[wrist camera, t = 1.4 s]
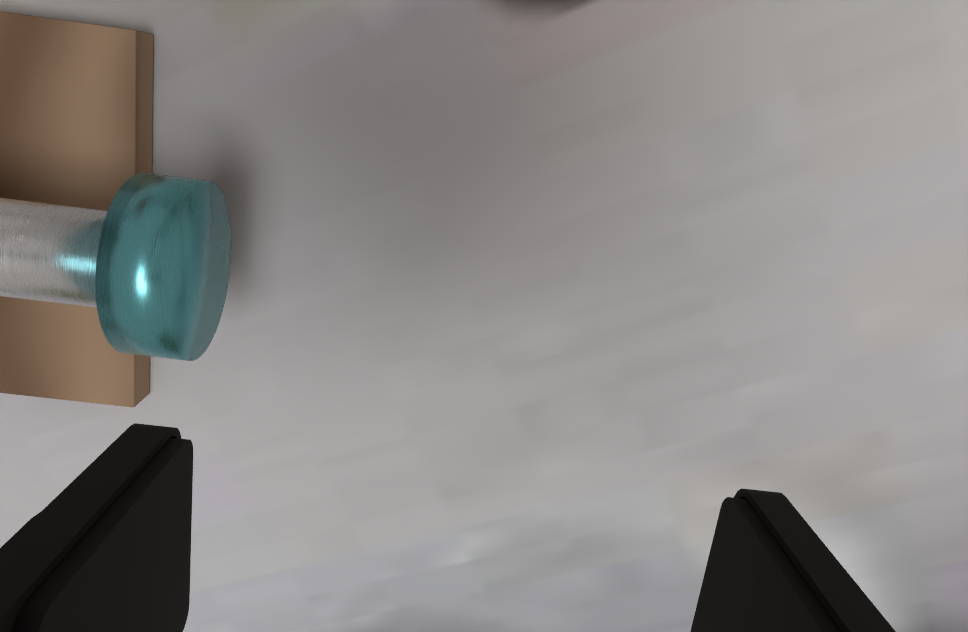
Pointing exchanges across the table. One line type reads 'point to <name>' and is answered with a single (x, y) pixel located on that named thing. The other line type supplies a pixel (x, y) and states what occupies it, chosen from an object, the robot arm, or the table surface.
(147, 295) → the shaft
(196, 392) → the table surface
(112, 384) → the shaft bracket
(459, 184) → the table surface
